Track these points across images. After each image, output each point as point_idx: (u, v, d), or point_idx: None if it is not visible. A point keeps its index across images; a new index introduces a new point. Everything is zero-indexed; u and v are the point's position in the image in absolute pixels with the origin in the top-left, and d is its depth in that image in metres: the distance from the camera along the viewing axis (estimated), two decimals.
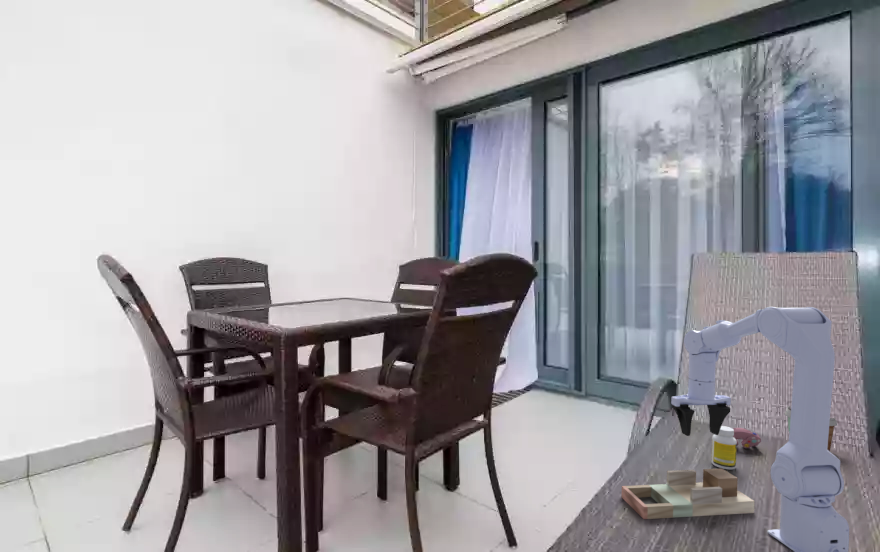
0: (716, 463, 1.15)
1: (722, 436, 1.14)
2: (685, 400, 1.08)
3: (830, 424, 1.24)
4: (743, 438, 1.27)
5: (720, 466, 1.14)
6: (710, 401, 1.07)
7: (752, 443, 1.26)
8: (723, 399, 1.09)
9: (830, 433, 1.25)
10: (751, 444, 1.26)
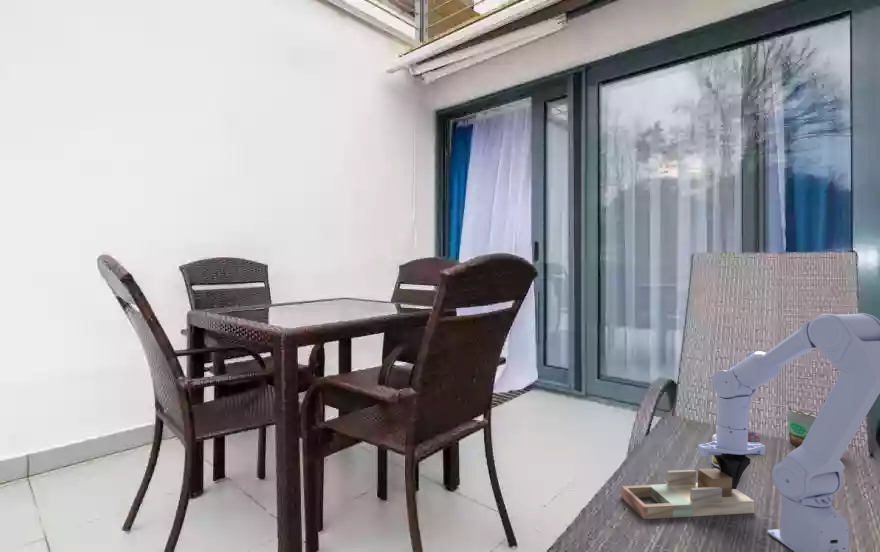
0: (716, 463, 1.15)
1: None
2: (714, 450, 0.95)
3: None
4: None
5: None
6: (743, 451, 0.94)
7: None
8: (757, 448, 0.96)
9: None
10: None
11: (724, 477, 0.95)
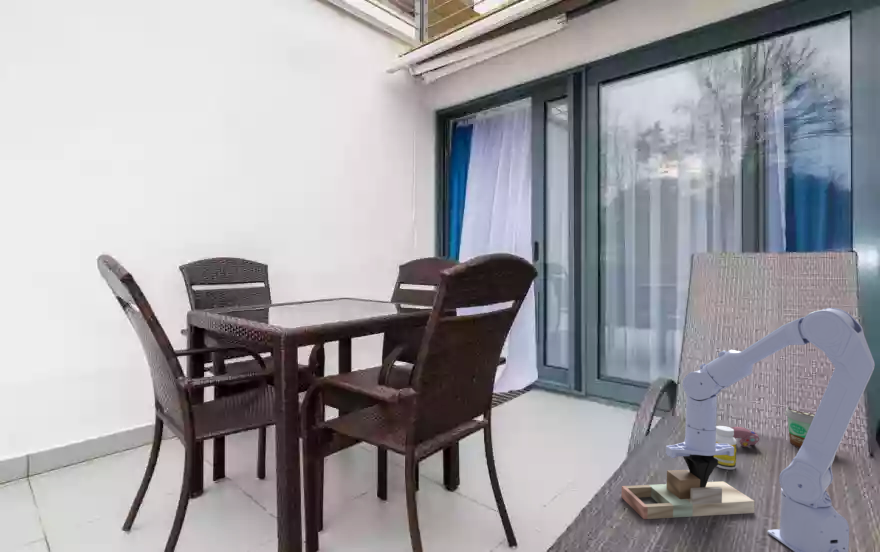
0: None
1: (722, 436, 1.14)
2: (681, 451, 0.94)
3: None
4: (741, 436, 1.27)
5: (720, 466, 1.14)
6: (710, 453, 0.93)
7: (750, 442, 1.27)
8: (725, 449, 0.95)
9: None
10: (749, 443, 1.27)
11: (692, 478, 0.94)
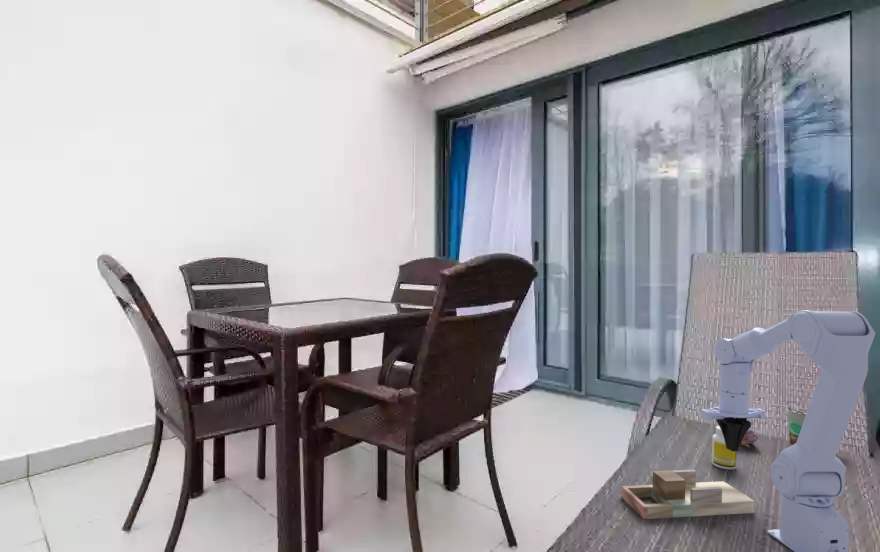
0: (716, 463, 1.15)
1: (722, 436, 1.14)
2: (717, 414, 1.00)
3: None
4: None
5: (720, 466, 1.14)
6: (744, 415, 1.00)
7: (749, 440, 1.28)
8: (757, 412, 1.02)
9: None
10: (748, 441, 1.28)
11: (677, 479, 0.94)
